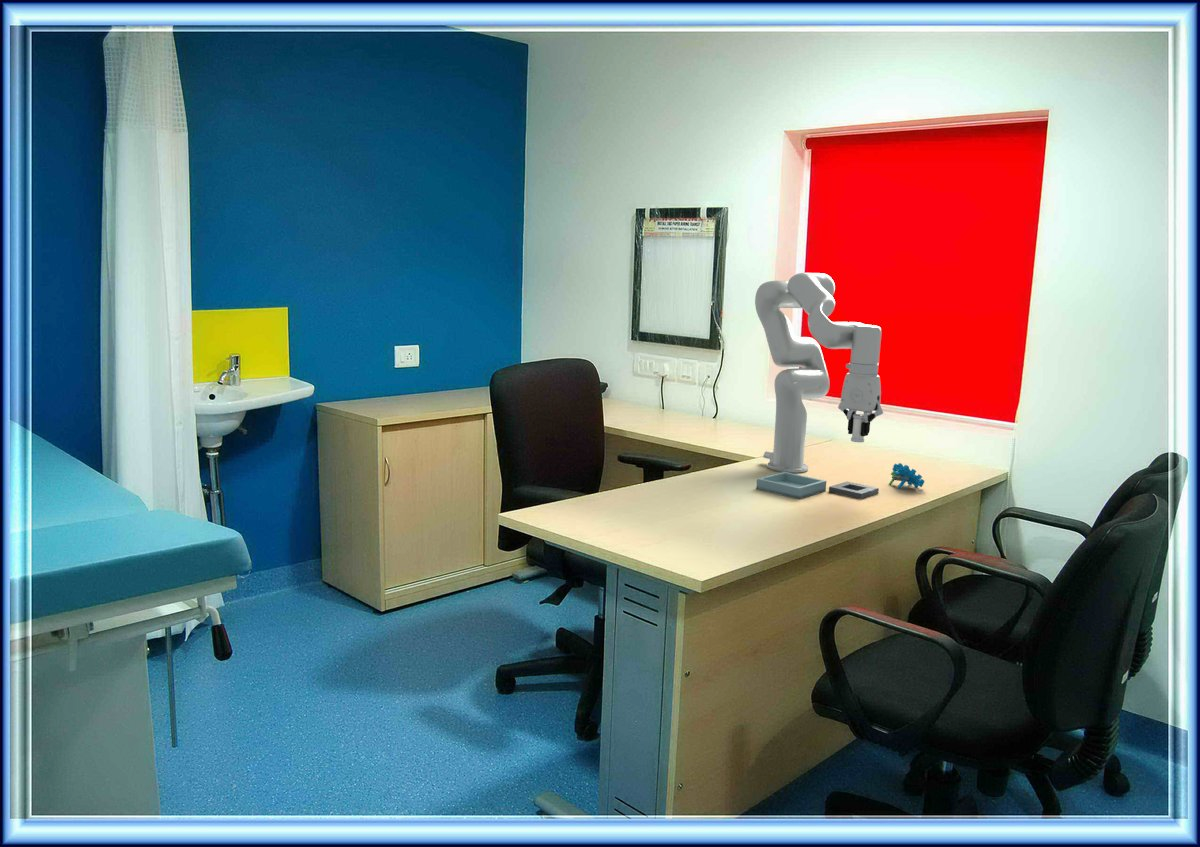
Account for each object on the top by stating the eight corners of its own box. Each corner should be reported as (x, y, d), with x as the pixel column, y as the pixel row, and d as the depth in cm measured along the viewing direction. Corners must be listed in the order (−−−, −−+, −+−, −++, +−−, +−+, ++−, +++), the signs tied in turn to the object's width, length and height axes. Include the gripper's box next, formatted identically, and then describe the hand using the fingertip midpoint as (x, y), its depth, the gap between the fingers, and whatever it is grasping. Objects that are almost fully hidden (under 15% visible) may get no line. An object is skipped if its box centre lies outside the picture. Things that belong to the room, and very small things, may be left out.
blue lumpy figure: (932, 485, 259) (912, 462, 256) (920, 501, 257) (901, 478, 254) (905, 481, 269) (886, 459, 266) (894, 496, 268) (875, 474, 265)
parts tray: (756, 489, 255) (757, 478, 254) (783, 481, 265) (784, 471, 264) (798, 499, 245) (799, 488, 245) (825, 491, 255) (826, 480, 254)
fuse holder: (828, 491, 254) (829, 486, 254) (846, 486, 261) (847, 481, 261) (860, 498, 247) (861, 493, 247) (878, 493, 254) (878, 488, 254)
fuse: (848, 440, 252) (850, 414, 251) (854, 439, 254) (857, 413, 253) (860, 442, 249) (862, 416, 248) (866, 441, 252) (868, 415, 251)
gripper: (830, 367, 251) (825, 431, 255) (884, 374, 240) (878, 441, 243) (844, 365, 257) (838, 428, 260) (898, 372, 245) (891, 437, 249)
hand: (858, 434), depth 252 cm, fingers closed on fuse, 3 cm apart
